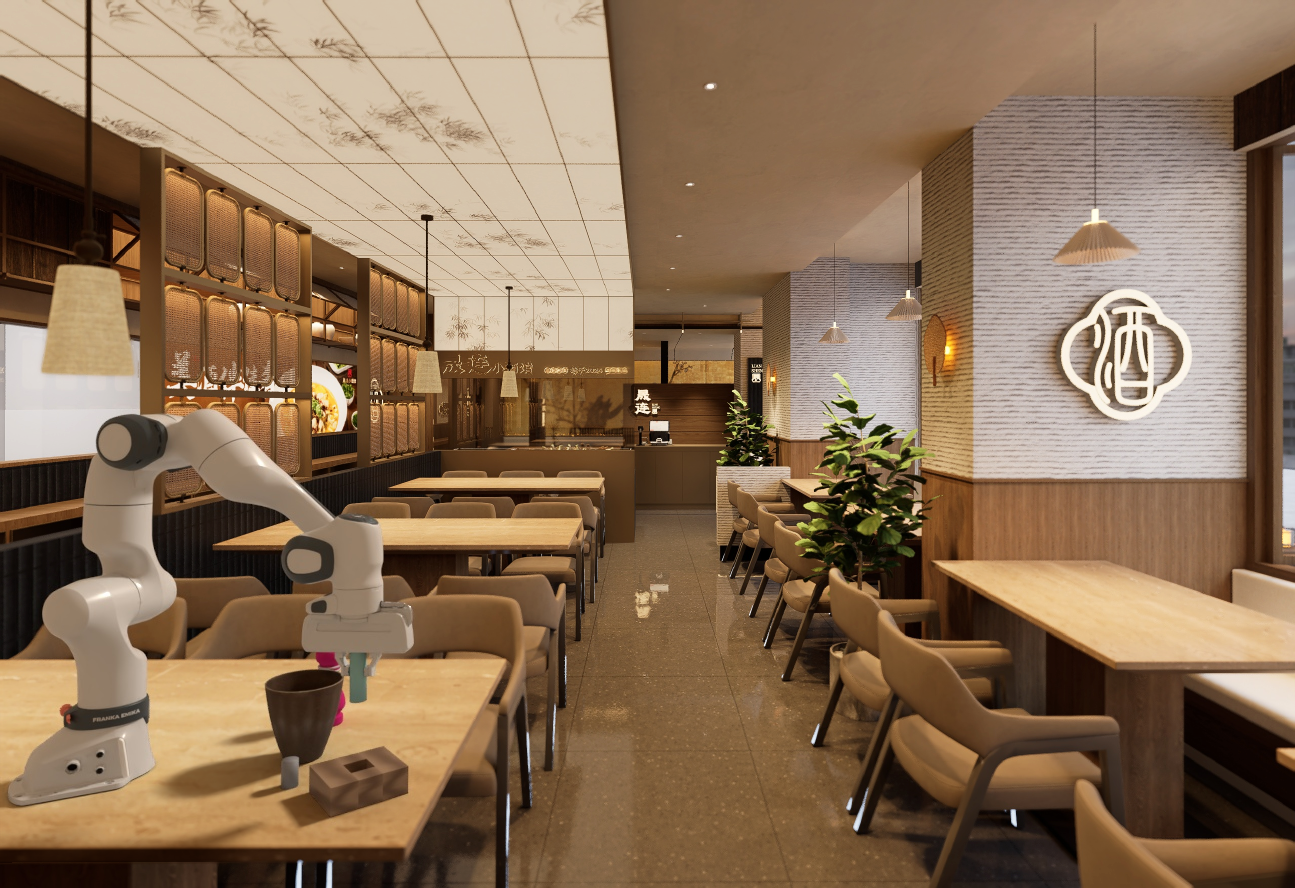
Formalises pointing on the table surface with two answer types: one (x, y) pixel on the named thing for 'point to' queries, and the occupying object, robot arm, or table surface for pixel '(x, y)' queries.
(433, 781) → the table surface
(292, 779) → the charcoal dowel
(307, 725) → the plant pot
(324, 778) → the walnut block
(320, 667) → the pepper mill
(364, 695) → the teal dowel
